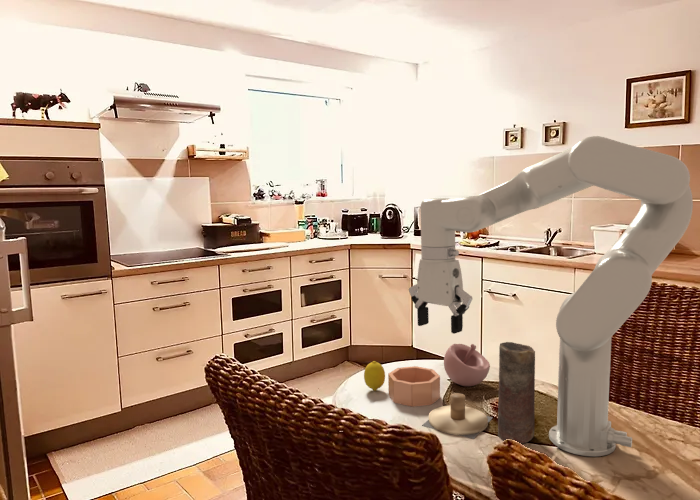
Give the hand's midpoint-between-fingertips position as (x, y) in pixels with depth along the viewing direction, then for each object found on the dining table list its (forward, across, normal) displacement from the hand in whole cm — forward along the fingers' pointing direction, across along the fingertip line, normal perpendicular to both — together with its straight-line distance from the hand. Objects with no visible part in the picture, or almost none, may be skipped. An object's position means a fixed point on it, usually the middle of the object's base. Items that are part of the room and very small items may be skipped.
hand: (439, 328), depth 121 cm
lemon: (+21, +22, 0) cm, 30 cm away
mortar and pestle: (+21, +8, -20) cm, 30 cm away
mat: (+21, -5, 0) cm, 22 cm away
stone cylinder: (+21, -17, -3) cm, 28 cm away
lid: (+21, -5, 0) cm, 21 cm away
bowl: (+21, +12, -4) cm, 24 cm away
